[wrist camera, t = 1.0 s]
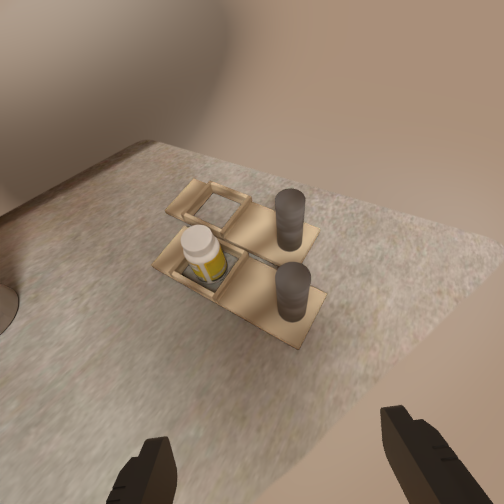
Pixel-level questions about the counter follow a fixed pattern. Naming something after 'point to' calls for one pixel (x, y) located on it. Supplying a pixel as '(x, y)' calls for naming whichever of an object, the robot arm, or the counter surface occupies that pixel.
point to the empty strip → (253, 222)
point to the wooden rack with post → (255, 291)
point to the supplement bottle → (204, 254)
